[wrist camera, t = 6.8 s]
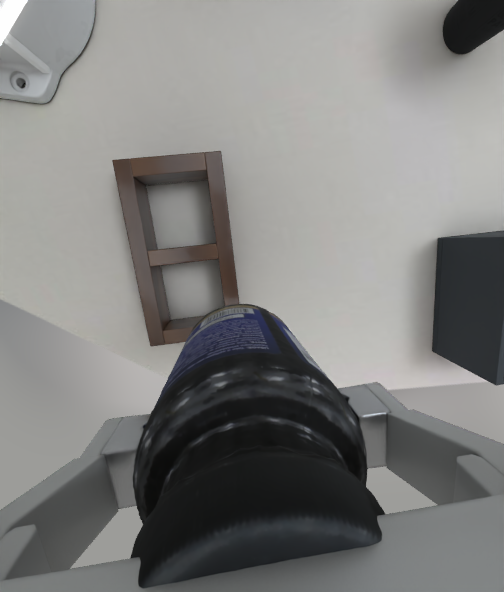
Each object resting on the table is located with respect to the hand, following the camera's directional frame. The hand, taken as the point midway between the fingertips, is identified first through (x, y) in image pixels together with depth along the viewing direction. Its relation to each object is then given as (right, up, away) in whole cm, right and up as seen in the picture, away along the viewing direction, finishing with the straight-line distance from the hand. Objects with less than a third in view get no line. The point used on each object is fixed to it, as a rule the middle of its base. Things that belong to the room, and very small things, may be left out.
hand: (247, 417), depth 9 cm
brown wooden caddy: (-7, +9, +21) cm, 24 cm away
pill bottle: (-1, +1, +6) cm, 6 cm away
